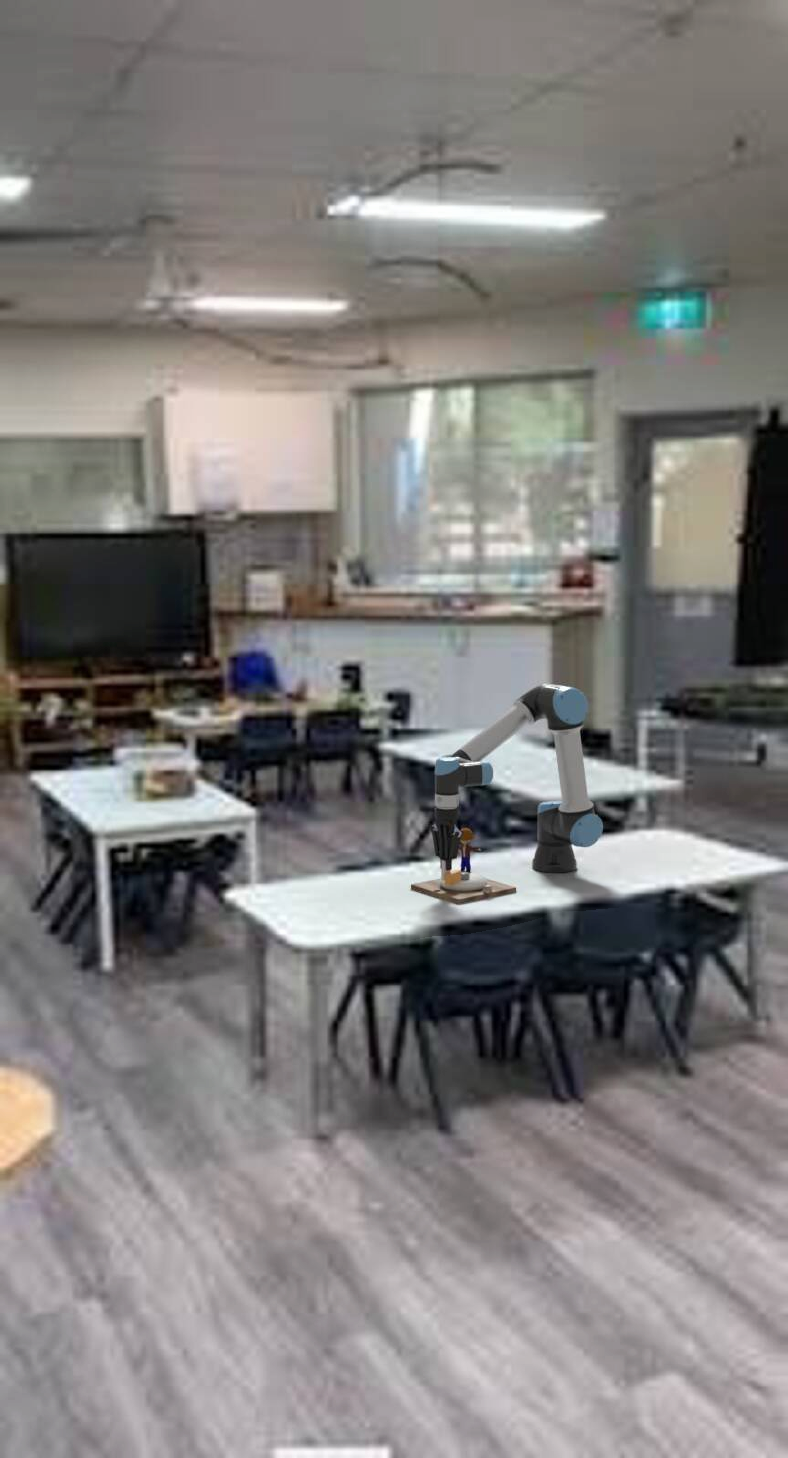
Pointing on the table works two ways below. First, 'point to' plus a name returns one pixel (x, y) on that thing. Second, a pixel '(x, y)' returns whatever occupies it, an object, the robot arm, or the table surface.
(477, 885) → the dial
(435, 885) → the board
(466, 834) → the toy
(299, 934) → the table surface
